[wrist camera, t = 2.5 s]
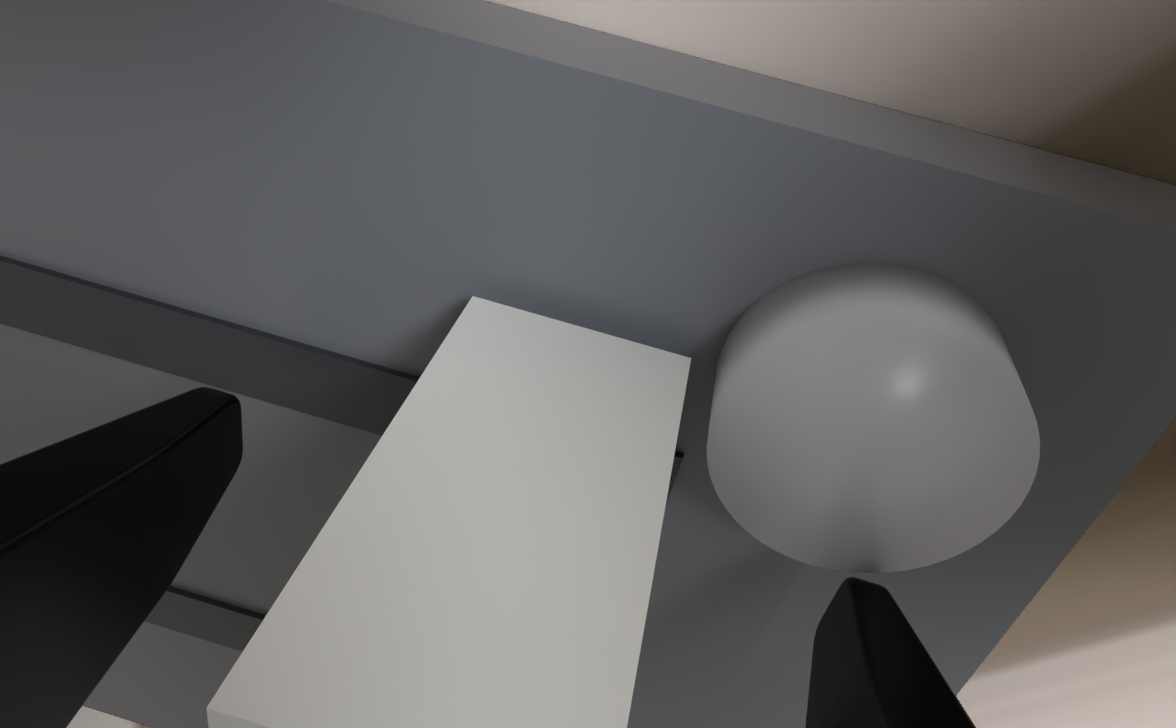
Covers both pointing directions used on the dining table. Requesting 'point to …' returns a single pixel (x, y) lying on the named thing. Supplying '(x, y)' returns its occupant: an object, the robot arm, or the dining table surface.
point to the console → (576, 309)
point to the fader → (483, 545)
